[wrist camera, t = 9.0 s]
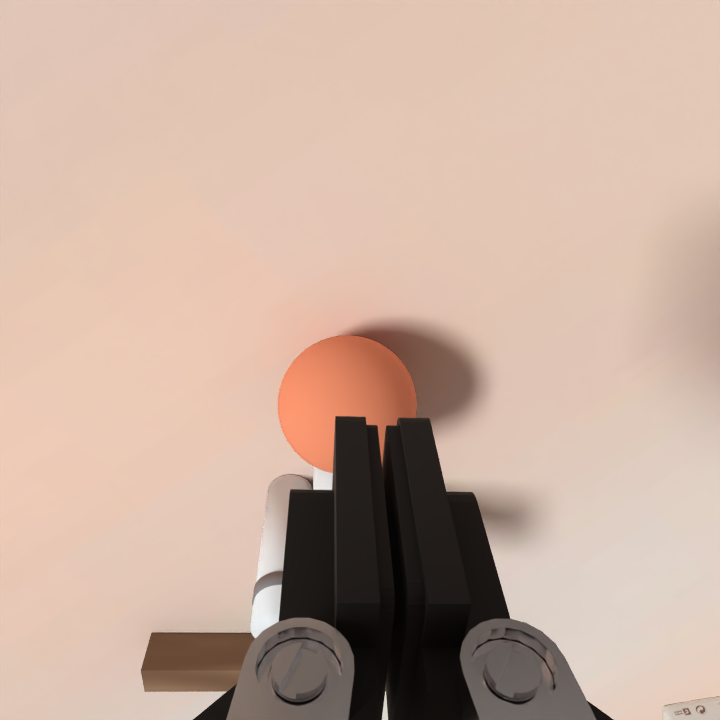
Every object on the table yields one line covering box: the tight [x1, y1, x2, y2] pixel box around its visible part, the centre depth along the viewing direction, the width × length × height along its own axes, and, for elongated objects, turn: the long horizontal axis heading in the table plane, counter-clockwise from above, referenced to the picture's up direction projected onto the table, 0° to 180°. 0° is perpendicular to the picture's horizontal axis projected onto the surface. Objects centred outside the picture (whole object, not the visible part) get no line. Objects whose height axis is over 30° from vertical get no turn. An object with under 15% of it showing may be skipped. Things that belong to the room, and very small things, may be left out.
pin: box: [250, 475, 313, 639], centre depth 30 cm, size 2×2×8 cm
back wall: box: [141, 633, 386, 692], centre depth 39 cm, size 2×22×2 cm, turn 87°
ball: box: [278, 335, 417, 473], centre depth 28 cm, size 6×6×6 cm
